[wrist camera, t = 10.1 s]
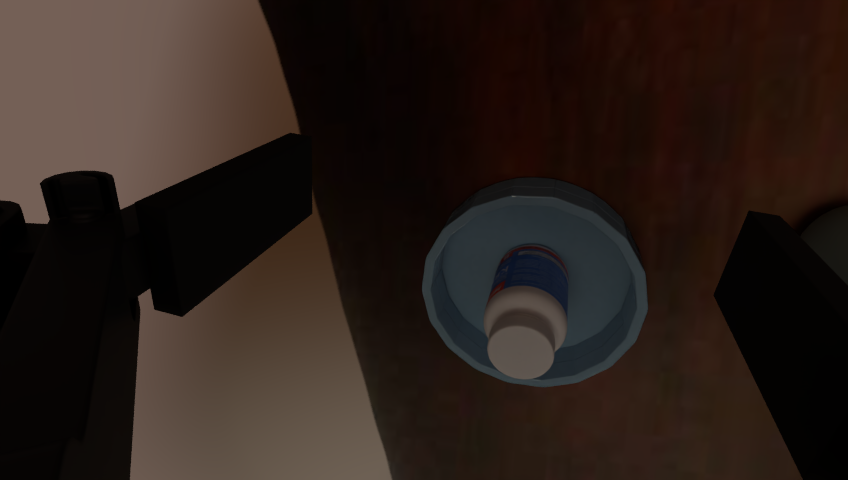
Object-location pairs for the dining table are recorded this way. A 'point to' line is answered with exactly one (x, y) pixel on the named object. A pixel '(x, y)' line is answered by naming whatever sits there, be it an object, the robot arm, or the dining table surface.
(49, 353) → the robot arm
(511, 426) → the dining table surface
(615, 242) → the shallow blue dish
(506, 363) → the pill bottle
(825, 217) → the cup
